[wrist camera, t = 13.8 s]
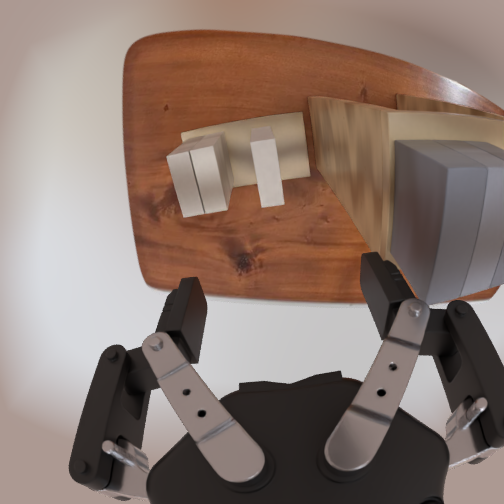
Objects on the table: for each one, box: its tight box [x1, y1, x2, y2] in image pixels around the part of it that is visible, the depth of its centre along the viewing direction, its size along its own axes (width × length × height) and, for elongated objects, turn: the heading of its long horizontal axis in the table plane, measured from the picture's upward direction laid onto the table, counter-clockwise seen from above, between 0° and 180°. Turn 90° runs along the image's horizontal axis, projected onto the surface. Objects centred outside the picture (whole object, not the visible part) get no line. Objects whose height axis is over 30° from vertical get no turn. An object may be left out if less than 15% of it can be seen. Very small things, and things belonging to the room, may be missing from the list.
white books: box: [167, 112, 310, 217], centre depth 32 cm, size 9×16×10 cm, turn 100°
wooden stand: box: [308, 94, 504, 306], centre depth 22 cm, size 10×14×29 cm
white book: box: [250, 126, 285, 208], centre depth 32 cm, size 7×2×10 cm, turn 10°
